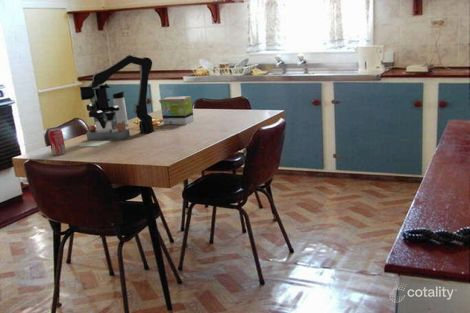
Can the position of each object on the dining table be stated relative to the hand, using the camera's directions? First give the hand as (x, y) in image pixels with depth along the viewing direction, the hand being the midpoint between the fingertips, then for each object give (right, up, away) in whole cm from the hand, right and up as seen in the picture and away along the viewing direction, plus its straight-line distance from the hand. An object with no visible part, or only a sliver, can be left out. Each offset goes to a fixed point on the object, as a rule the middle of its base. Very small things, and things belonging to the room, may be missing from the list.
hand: (106, 127), depth 270 cm
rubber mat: (-3, -9, -10) cm, 14 cm away
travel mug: (+1, +3, +35) cm, 35 cm away
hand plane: (+1, -6, +1) cm, 6 cm away
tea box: (+35, +4, +27) cm, 44 cm away
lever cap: (0, 0, 0) cm, 0 cm away
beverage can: (-16, -14, -25) cm, 33 cm away
